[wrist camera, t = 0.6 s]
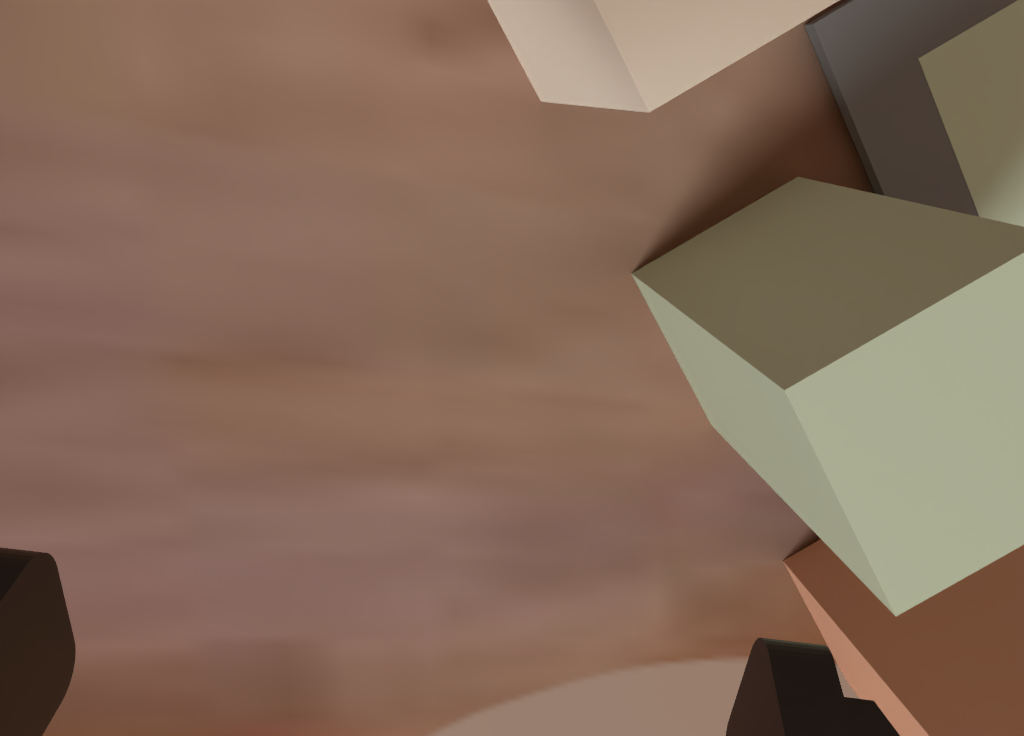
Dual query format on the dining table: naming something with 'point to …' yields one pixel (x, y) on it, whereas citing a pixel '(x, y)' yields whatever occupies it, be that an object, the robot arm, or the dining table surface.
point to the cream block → (638, 44)
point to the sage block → (863, 372)
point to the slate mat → (932, 98)
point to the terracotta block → (926, 645)
